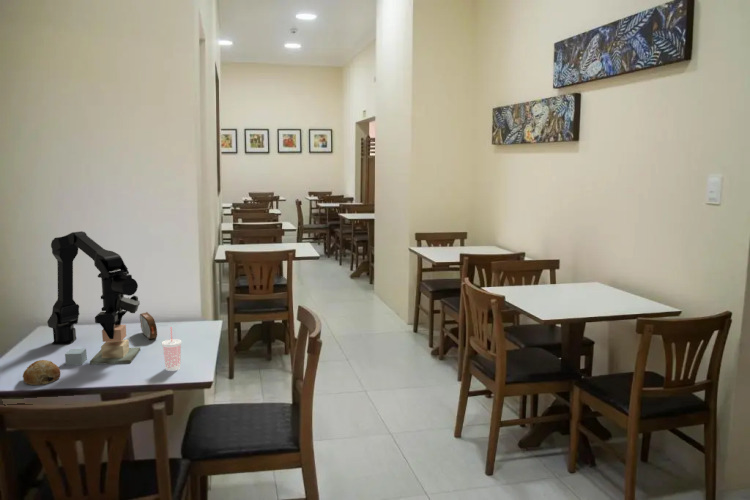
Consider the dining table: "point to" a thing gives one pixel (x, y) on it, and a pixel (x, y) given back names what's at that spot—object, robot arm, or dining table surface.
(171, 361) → the beverage cup
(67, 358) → the gray brick
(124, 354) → the build board
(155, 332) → the tin
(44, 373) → the bread roll
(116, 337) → the terracotta brick
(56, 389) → the dining table surface
